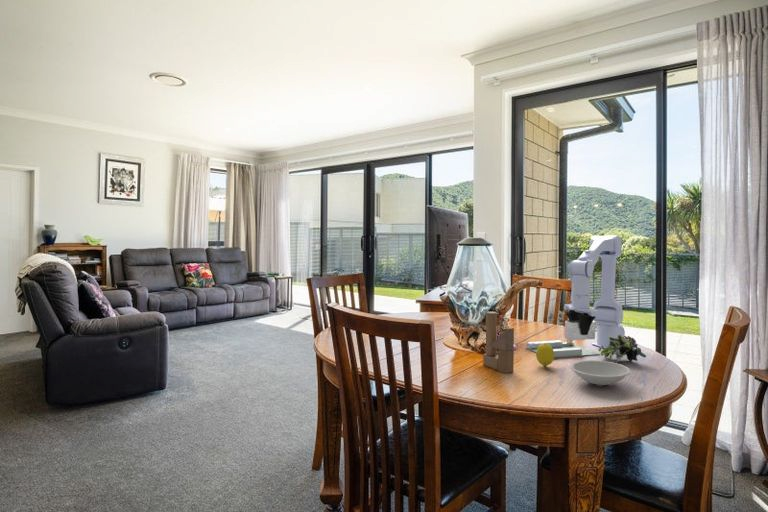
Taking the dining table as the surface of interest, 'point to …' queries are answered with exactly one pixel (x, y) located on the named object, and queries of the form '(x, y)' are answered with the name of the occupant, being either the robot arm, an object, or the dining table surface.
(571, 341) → the block
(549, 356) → the lemon
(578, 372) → the dish
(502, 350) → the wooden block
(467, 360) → the dining table surface
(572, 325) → the steel block
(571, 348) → the vise base
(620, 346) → the green leafy plant
